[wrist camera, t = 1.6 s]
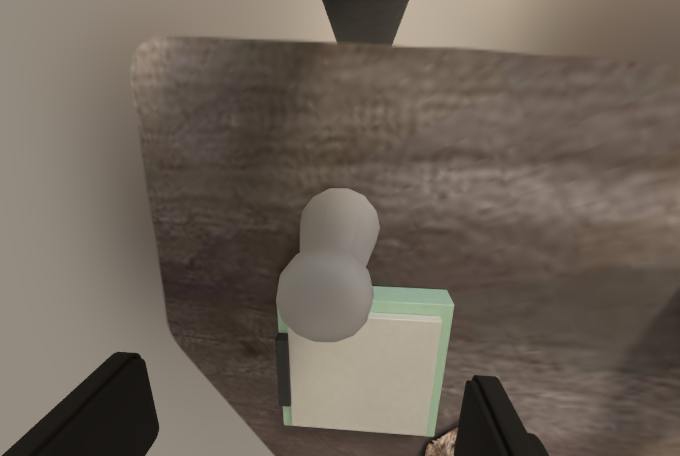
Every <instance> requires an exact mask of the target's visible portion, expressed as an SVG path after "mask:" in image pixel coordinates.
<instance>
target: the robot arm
mask: <svg viewBox="0 0 680 456" xmlns="http://www.w3.org/2000/svg"><path fill="white" fill-rule="evenodd" d="M158 432H159V423H158V419H157V414H156V410H155V405H154V401H153V396H152V391H151V387H150V382H149V378H148V373H147V368H146V364H145V361H144V360H143V359H141V356H140V355H139V354H137V353H126V352H117V353H114V354H113V355H111V356H110V357H109V358H108V359H107V360H106V361H105V362H104V363H103V364H101V365H100V366H99V367H98V368H97V369H96V370H95V371H94V372H93V373H92V374H91V375H89V376H88V377H87V379H85V380H84V381H83V382H82V383H81V384H80V385H79V386H77V387H76V388H75V389H74V390H73V391H72V392H71V393H70V394H69V395H68V396H67V397H66V398H64V399H63V400H62V401H61V402H60V403H59V404H58V405H57V406H56V407H55V408H53V409H52V410H51V411H50V412H49V413H48V414H47V415H46V416H45V417H44V418H42V419H41V420H40V421H39V422H38V423H37V424H36V425H35V426H34V427H33V428H32V429H30V430H29V431H28V432H27V433H26V434H25V435H24V436H23V437H22V438H21V439H20V440H19V441H17V442H16V443H15V444H14V445H13V446H12V447H11V448H10V449H9V450H8V451H6V452H5V453H4V454H3V455H2V456H145V455H146V453H147V452H148V450H149V449H150V447H151V446H152V444H153V443H154V441H155V439H156V437H157V435H158ZM454 456H549V455H548V453H547V451H546V449H545V448H544V446H543V444H542V443H541V441H540V440H539V438H538V437H537V436H535V435H534V434H531V433H527V432H526V430H525V428H524V426H523V424H522V422H521V420H520V418H519V416H518V415H517V413H516V411H515V409H514V407H513V405H512V403H511V401H510V400H509V398H508V396H507V394H506V392H505V390H504V388H503V386H502V384H501V383H500V381H499V379H498V378H497V377H494V376H479V375H474V376H473V379H472V381H467V382H466V385H465V391H464V396H463V402H462V408H461V413H460V419H459V424H458V430H457V436H456V441H455V447H454Z"/></svg>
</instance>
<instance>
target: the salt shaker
mask: <svg viewBox="0 0 680 456" xmlns="http://www.w3.org/2000/svg"><path fill="white" fill-rule="evenodd" d="M379 230H380V225H379V221H378V216H377V212H376V210H375V208H374V207H373V206H372V205H371V204H370V202H369V201H368V200H367V199H366V197H365V196H364V195H362V194H359V193H357V192H355V191H353V190H351V189H348V188H330V189H328V190H326V191H324V192H322V193H320V194H318V195H316V196H314V197H313V198H312V199H311V200H310V202H309V203H308V204H307V205H306V207H305V208H304V209H303V210H302V215H301V222H300V253H299V254H296V256H295V257H294V258H293V259H292V260H291V262H290V263H289V264H288V265H287V267H286V268H285V269H284V270H283V272H282V273H281V275H280V278H279V284H278V290H277V297H276V304H277V307H278V310H279V313H280V316H281V319H282V321H283V322H284V323H285V324H286V325H287V326H288V327H290V328H291V329H292V330H293V331H294V332H295V333H296V334H297V335H300V336H302V337H304V338H307V339H309V340H311V341H313V342H338V341H341V340H343V339H346V338H349V337H352V336H354V335H355V334H356V333H357V332H358V331H359V330H360V329H361V328H362V326H363V325H364V324H365V323H366V322H367V319H368V316H369V312H370V309H371V306H372V302H373V298H374V292H373V287H372V283H371V279H370V275H369V271H368V269H367V268H366V265H367V263H368V261H369V258H370V256H371V254H372V251H373V249H374V247H375V245H376V241H377V237H378V234H379Z"/></svg>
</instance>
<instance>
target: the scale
mask: <svg viewBox="0 0 680 456" xmlns="http://www.w3.org/2000/svg"><path fill="white" fill-rule="evenodd" d="M372 287H373V292H374V298H373V302H372V306H371V309H370V312H369V316H368V319H367V322H366V323H365V324H364V325H363V326H362V328H361V329H360V330H359V331H358V332H357V333H356V334H355V335H354V336H352V337H349V338H346V339H343V340H341V341H338V342H313V341H311V340H309V339H307V338H304V337H302V336H300V335H297V334H296V333H295V332H294V331H293V330H292V329H291V328H290V327H288V326H287V325H286V324H285V323H284V322H283V321H282V319H281V316H280V313H279V310H278V307H277V315H278V332H279V333H278V335H277V338H276V340H275V342H276V358H277V375H278V391H279V406H283V419H284V425H290V426H302V427H315V428H328V429H341V430H354V431H366V432H379V433H392V434H405V435H417V436H430V437H434V433H435V426H436V420H437V413H438V407H439V401H440V394H441V388H442V381H443V375H444V368H445V362H446V355H447V349H448V343H449V336H450V330H451V323H452V317H453V310H454V304H453V302H452V300H451V298H450V296H449V294H448V292H447V290H441V289H420V288H400V287H380V286H372ZM276 297H277V296H276Z"/></svg>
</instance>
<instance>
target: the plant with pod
mask: <svg viewBox="0 0 680 456" xmlns="http://www.w3.org/2000/svg"><path fill="white" fill-rule="evenodd" d="M457 430H458V427H457V428H455V429H453V430H450V431H449V432H448V433H446V435H444V436H442V437H441V438H440V439H437V440H438V441H433V440H432V441H433V443H434V444H435V445H434V444H431V443H429V444H428V446H427V448H428V449H426V450H425V451H426V452H425V456H454V447H455V441H456V436H457Z"/></svg>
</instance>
